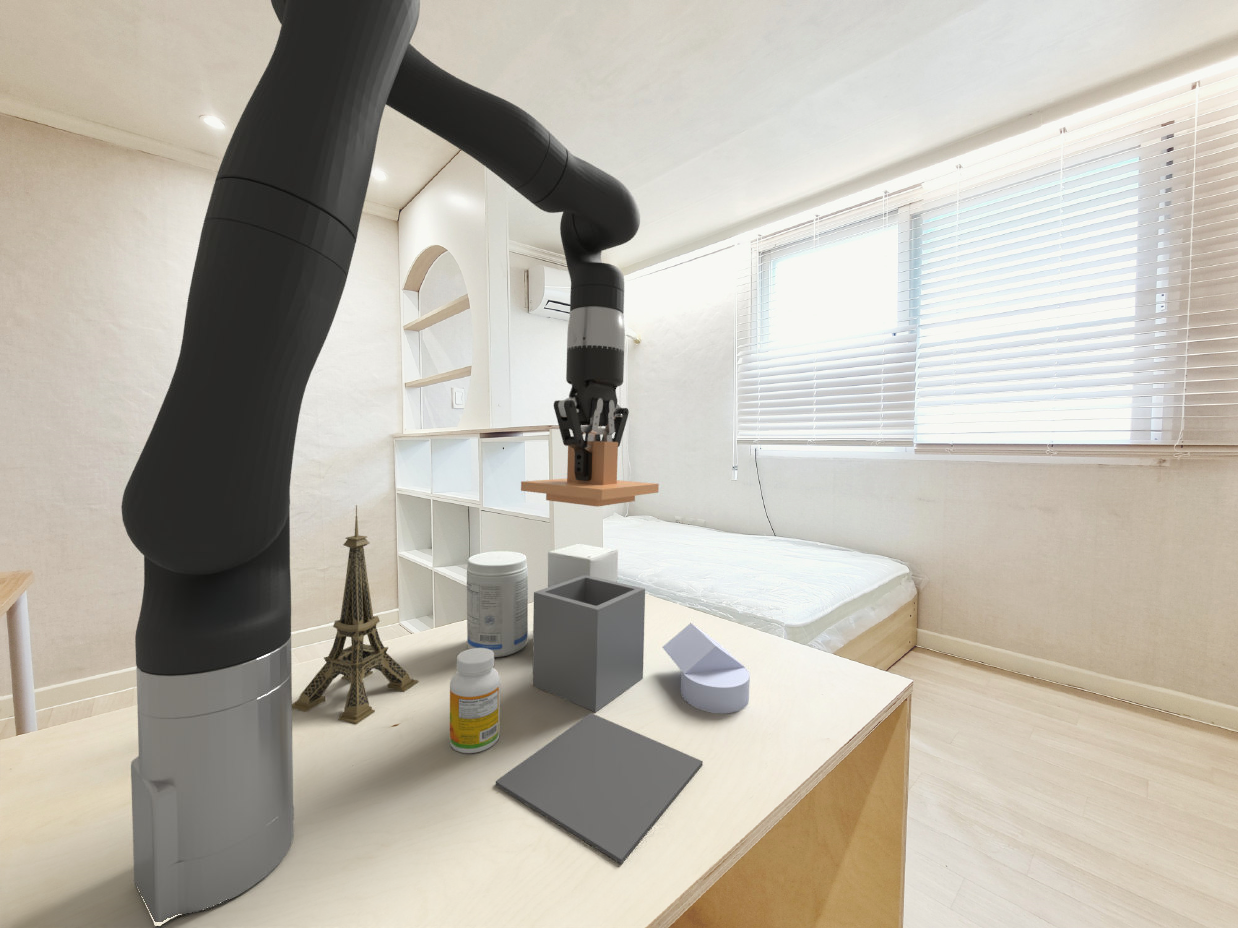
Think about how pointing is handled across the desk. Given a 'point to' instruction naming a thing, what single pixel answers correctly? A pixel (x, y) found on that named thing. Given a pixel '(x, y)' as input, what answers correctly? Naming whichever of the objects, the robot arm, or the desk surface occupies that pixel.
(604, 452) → the lid
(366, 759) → the desk surface
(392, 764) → the desk surface
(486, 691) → the supplement bottle
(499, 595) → the supplement tub
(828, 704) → the desk surface
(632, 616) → the storage box
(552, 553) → the supplement box
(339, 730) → the desk surface
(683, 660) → the wedge on round base
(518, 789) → the rubber mat
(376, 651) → the eiffel tower
